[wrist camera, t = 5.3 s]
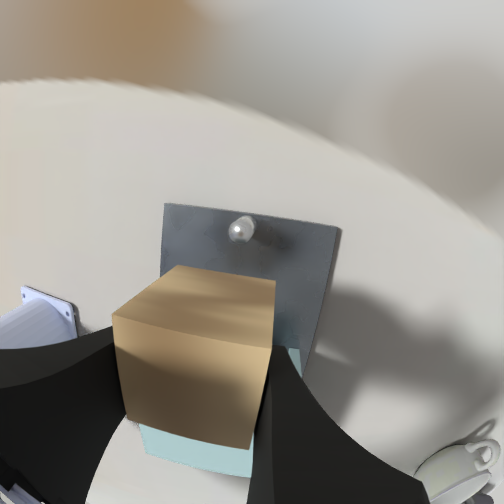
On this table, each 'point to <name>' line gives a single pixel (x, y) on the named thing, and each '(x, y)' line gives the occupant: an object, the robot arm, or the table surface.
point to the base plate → (257, 260)
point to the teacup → (457, 472)
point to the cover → (203, 447)
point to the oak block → (196, 354)
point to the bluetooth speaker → (479, 499)
